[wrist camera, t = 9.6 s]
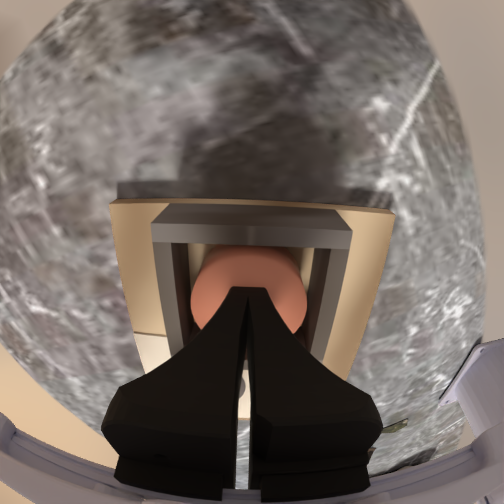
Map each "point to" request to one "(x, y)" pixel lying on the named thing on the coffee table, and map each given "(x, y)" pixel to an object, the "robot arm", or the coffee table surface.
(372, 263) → the wooden base tray
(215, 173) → the coffee table surface
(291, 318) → the button
